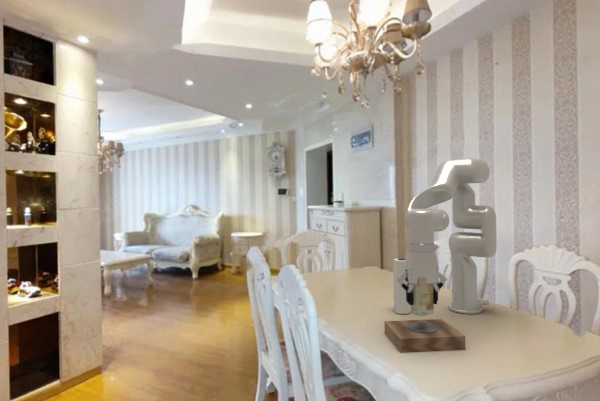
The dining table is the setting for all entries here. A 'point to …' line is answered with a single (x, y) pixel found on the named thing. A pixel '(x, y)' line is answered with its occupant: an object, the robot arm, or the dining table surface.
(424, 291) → the skincare box
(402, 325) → the walnut stand
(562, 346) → the dining table surface
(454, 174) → the robot arm
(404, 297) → the paper towel roll
